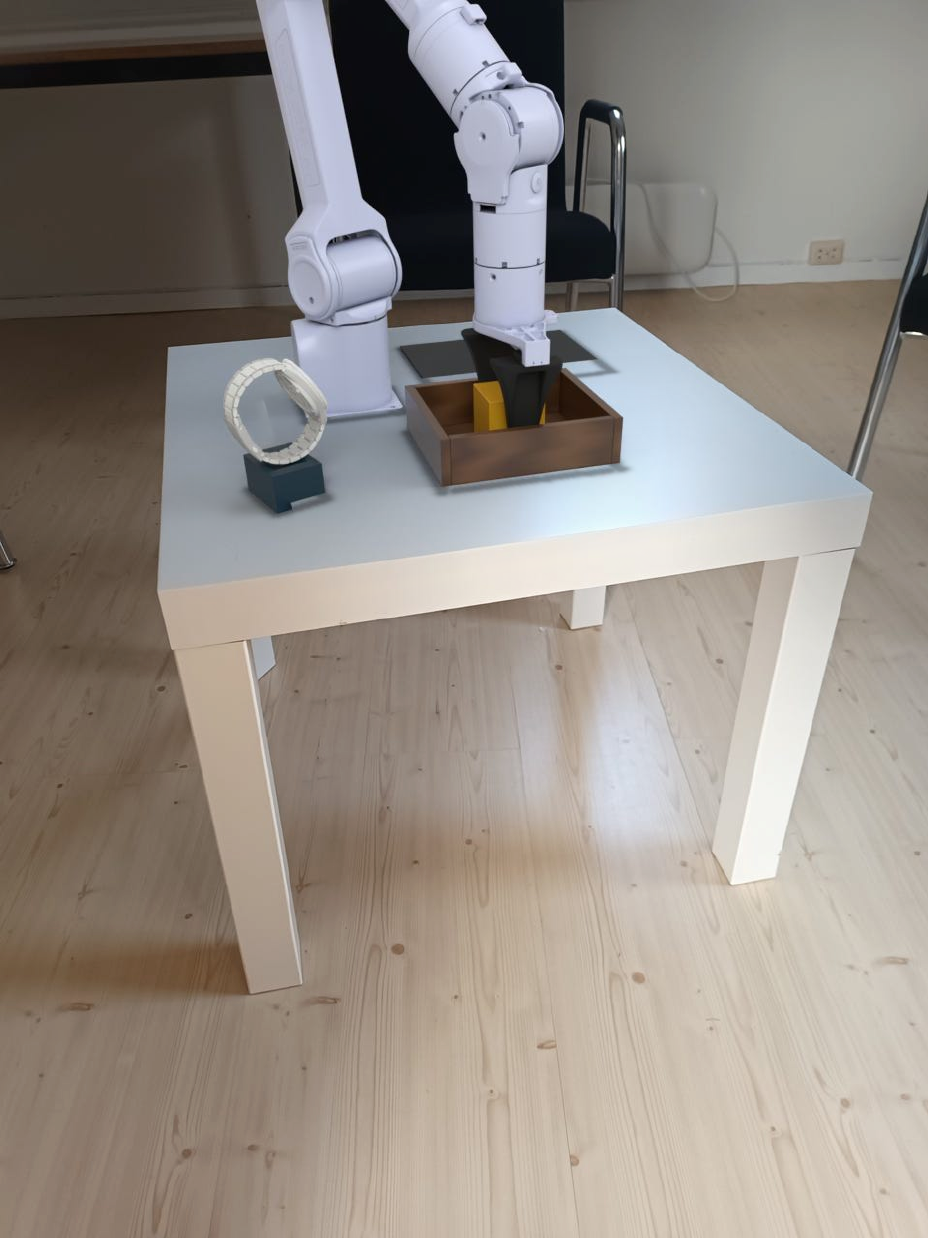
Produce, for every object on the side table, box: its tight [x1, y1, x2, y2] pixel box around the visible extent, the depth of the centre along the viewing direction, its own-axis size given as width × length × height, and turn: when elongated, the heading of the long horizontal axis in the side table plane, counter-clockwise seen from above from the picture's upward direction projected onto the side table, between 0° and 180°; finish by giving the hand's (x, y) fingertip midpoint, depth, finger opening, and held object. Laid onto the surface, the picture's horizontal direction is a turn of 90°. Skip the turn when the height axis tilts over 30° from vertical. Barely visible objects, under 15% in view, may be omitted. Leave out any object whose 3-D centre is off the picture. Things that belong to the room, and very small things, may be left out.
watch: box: [222, 357, 328, 514], centre depth 73 cm, size 6×8×11 cm
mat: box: [399, 329, 598, 379], centre depth 104 cm, size 20×16×1 cm
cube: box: [473, 381, 545, 432], centre depth 81 cm, size 5×5×5 cm
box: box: [404, 367, 624, 488], centre depth 81 cm, size 16×14×5 cm
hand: (509, 423), depth 81 cm, fingers open, 7 cm apart
